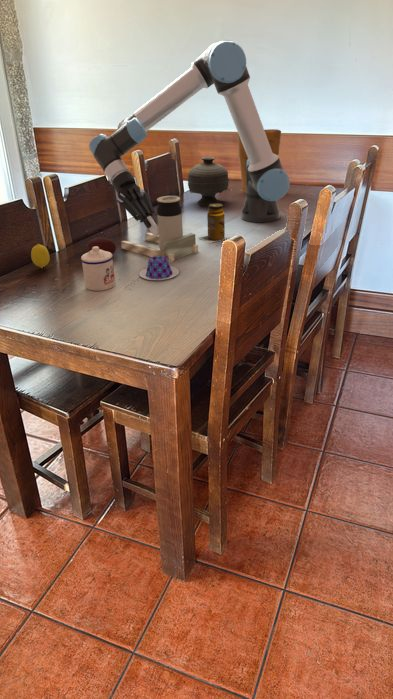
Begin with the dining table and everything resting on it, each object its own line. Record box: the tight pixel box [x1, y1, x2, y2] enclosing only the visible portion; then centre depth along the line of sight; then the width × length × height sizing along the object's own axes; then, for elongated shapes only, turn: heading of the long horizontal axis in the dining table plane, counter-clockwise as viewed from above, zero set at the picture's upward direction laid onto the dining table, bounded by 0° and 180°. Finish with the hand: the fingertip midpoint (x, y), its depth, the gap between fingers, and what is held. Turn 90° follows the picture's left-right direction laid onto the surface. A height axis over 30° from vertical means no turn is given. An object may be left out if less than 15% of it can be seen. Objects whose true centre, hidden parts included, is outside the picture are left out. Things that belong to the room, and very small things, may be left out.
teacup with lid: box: [80, 246, 116, 292], centre depth 153 cm, size 12×9×12 cm
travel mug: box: [156, 195, 184, 251], centre depth 174 cm, size 8×8×18 cm
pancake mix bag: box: [237, 128, 282, 194], centre depth 242 cm, size 7×19×28 cm, turn 74°
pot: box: [187, 156, 229, 207], centre depth 231 cm, size 18×18×20 cm
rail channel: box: [120, 231, 199, 264], centre depth 180 cm, size 24×13×6 cm, turn 48°
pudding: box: [139, 256, 180, 281], centre depth 160 cm, size 12×12×5 cm
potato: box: [87, 236, 117, 255], centre depth 177 cm, size 7×10×6 cm
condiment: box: [199, 203, 230, 244], centre depth 187 cm, size 7×8×12 cm
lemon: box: [30, 243, 50, 269], centre depth 168 cm, size 6×6×8 cm
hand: (157, 234), depth 178 cm, fingers closed
